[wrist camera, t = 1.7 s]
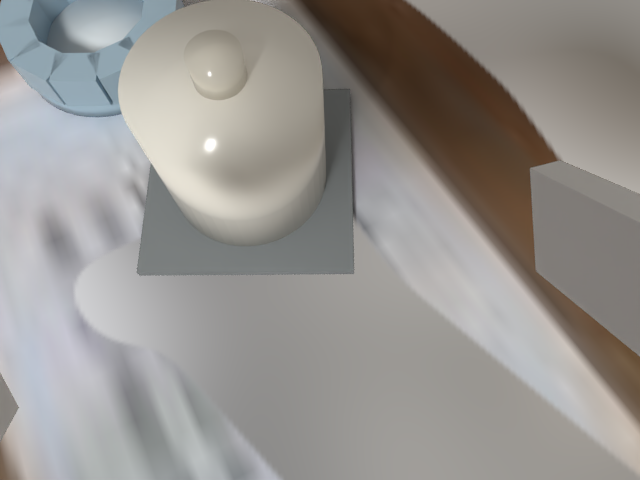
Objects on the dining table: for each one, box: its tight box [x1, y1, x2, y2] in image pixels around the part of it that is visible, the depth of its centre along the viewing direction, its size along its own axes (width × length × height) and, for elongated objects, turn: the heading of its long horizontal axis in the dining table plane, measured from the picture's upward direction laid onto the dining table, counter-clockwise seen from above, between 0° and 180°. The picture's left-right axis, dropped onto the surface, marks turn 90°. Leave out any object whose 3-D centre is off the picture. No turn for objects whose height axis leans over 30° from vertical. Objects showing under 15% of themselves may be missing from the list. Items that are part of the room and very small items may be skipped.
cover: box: [118, 0, 326, 246], centre depth 28 cm, size 9×9×11 cm
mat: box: [137, 89, 354, 275], centre depth 33 cm, size 12×12×1 cm
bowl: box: [0, 0, 184, 117], centre depth 35 cm, size 11×11×4 cm
